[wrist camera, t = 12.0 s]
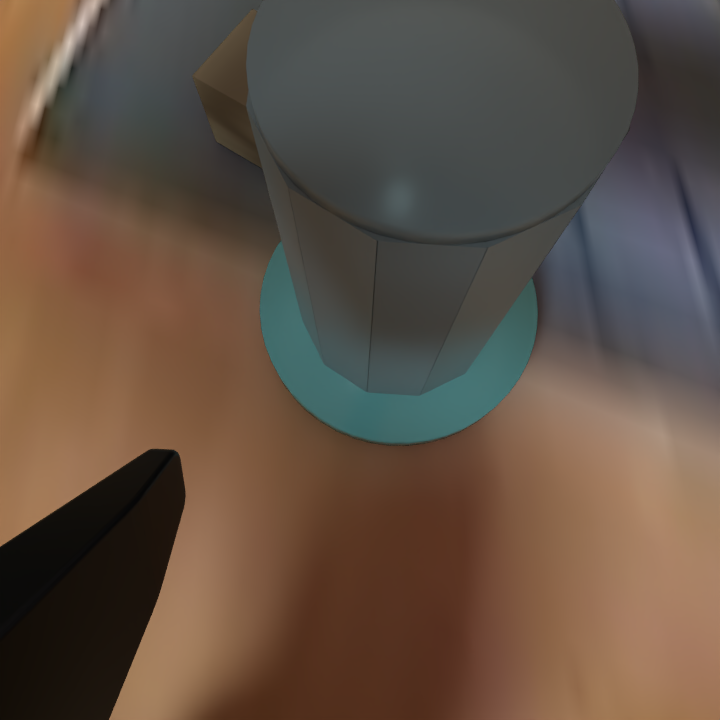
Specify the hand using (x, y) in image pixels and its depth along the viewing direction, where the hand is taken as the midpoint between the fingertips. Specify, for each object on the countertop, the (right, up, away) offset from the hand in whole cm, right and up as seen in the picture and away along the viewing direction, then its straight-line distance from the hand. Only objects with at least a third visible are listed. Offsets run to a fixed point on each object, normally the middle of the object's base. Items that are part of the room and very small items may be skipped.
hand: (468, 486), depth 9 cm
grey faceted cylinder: (0, +4, +14) cm, 15 cm away
